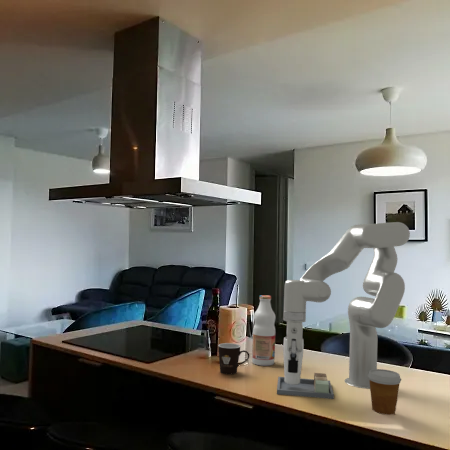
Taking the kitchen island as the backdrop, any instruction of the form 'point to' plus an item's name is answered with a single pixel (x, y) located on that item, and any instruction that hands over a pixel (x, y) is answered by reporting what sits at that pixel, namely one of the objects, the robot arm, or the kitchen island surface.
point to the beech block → (320, 378)
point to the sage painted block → (322, 386)
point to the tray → (302, 389)
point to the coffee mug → (229, 357)
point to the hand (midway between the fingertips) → (292, 369)
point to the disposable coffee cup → (384, 390)
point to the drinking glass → (288, 377)
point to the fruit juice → (264, 333)
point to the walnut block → (318, 376)
